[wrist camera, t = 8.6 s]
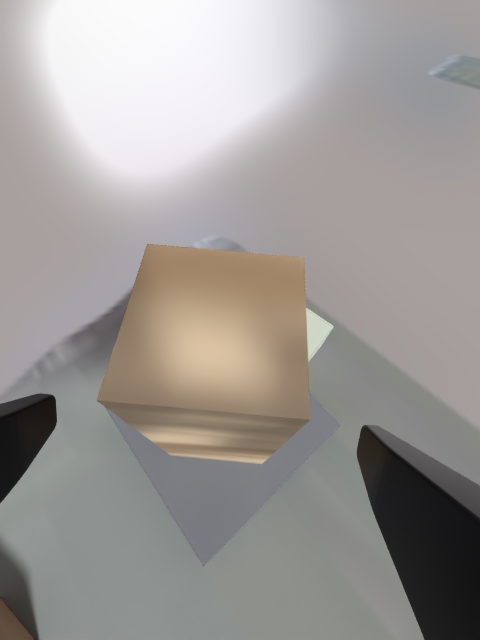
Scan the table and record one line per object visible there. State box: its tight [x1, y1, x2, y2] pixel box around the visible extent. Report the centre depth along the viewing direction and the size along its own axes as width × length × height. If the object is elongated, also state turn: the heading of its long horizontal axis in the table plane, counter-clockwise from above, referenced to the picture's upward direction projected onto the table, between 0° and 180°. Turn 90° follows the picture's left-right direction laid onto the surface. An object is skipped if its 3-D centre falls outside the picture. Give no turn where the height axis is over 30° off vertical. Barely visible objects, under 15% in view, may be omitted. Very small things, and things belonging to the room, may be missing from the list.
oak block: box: [97, 244, 311, 464], centre depth 13 cm, size 5×5×11 cm
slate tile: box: [105, 394, 340, 566], centre depth 18 cm, size 10×10×2 cm
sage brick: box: [306, 308, 334, 362], centre depth 21 cm, size 6×3×3 cm, turn 50°
